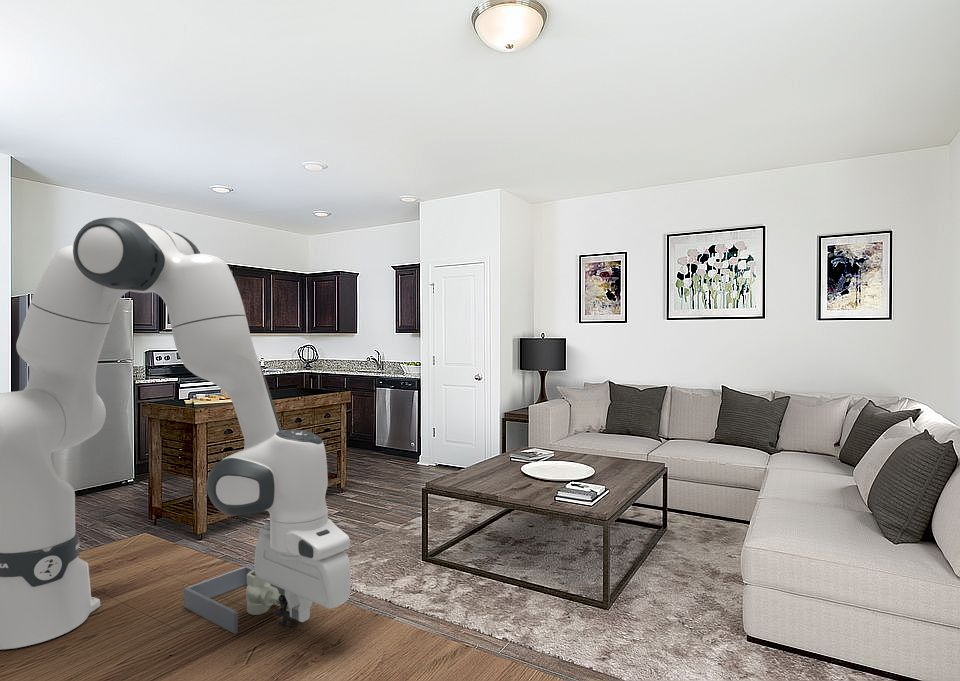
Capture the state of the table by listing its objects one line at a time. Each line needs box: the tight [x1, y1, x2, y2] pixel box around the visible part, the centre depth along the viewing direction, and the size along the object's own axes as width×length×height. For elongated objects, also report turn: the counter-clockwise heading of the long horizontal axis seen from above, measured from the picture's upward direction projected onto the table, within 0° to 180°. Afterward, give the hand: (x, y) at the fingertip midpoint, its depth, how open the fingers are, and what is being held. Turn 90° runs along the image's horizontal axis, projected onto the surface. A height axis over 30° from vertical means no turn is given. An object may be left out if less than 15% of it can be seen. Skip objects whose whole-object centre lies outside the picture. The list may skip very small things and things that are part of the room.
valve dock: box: [183, 565, 285, 635], centre depth 103 cm, size 16×12×3 cm
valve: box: [245, 570, 299, 628], centre depth 99 cm, size 7×7×12 cm
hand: (299, 618), depth 93 cm, fingers closed
